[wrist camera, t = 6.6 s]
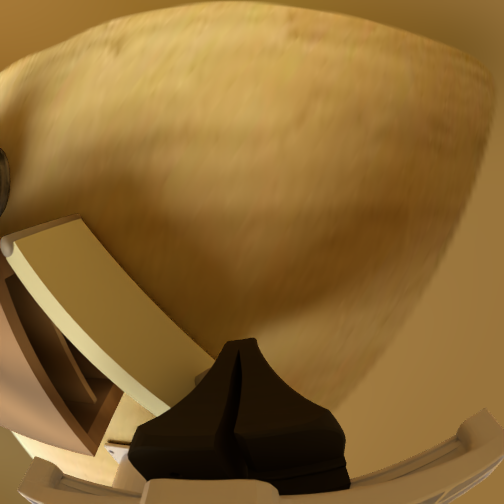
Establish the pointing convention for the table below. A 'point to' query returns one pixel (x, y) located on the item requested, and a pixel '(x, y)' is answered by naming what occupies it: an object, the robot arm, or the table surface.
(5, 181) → the dark tiered stone ornament
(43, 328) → the cabinet
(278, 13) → the table surface
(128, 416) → the table surface
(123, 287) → the door
